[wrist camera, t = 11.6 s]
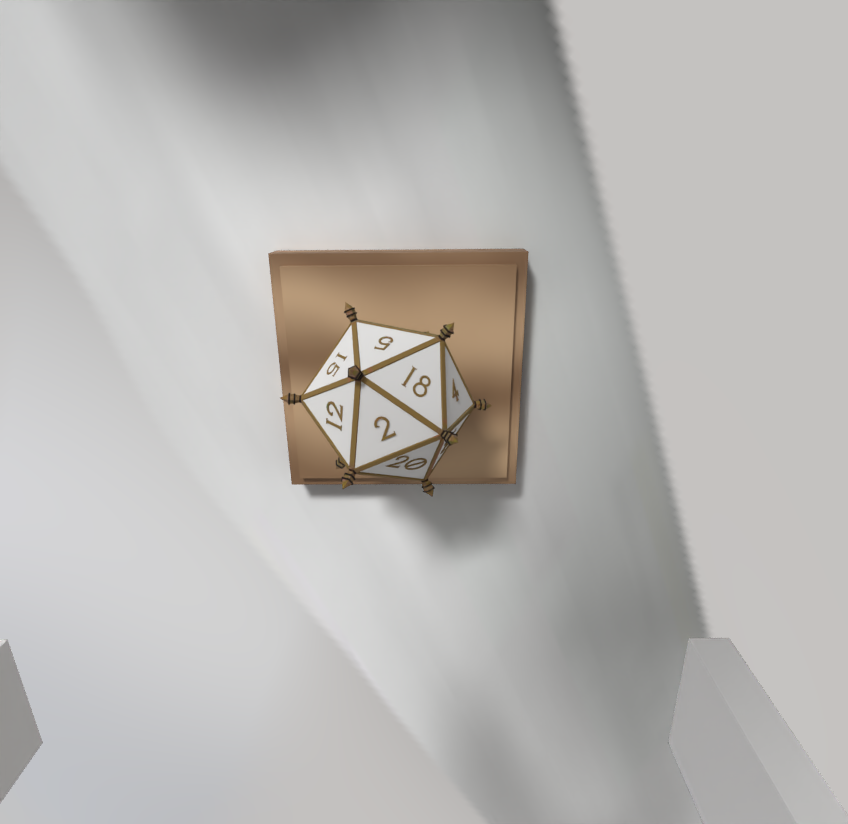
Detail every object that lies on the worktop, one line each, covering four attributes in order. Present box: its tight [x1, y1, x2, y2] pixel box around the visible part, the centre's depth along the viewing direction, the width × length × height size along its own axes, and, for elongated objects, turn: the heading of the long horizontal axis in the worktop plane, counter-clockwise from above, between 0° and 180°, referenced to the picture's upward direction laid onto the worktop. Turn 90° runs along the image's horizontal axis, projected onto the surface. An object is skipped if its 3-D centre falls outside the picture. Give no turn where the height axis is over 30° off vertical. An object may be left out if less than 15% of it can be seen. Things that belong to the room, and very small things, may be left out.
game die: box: [281, 302, 492, 496], centre depth 27 cm, size 9×8×10 cm
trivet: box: [268, 249, 528, 484], centre depth 32 cm, size 13×13×2 cm
